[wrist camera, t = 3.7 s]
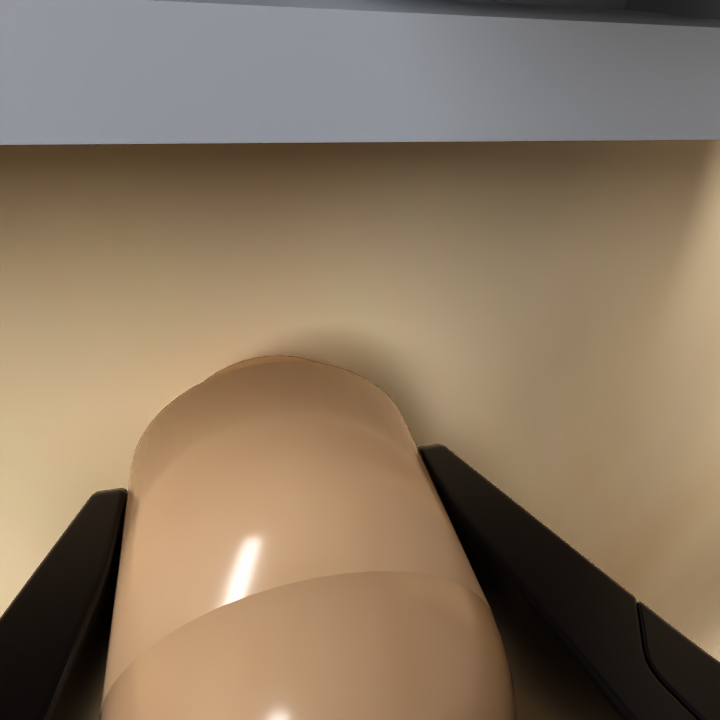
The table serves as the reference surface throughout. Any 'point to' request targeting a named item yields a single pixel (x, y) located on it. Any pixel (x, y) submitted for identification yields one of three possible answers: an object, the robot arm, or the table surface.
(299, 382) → the brown egg
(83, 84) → the egg tray
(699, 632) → the table surface
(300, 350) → the table surface
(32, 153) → the table surface
